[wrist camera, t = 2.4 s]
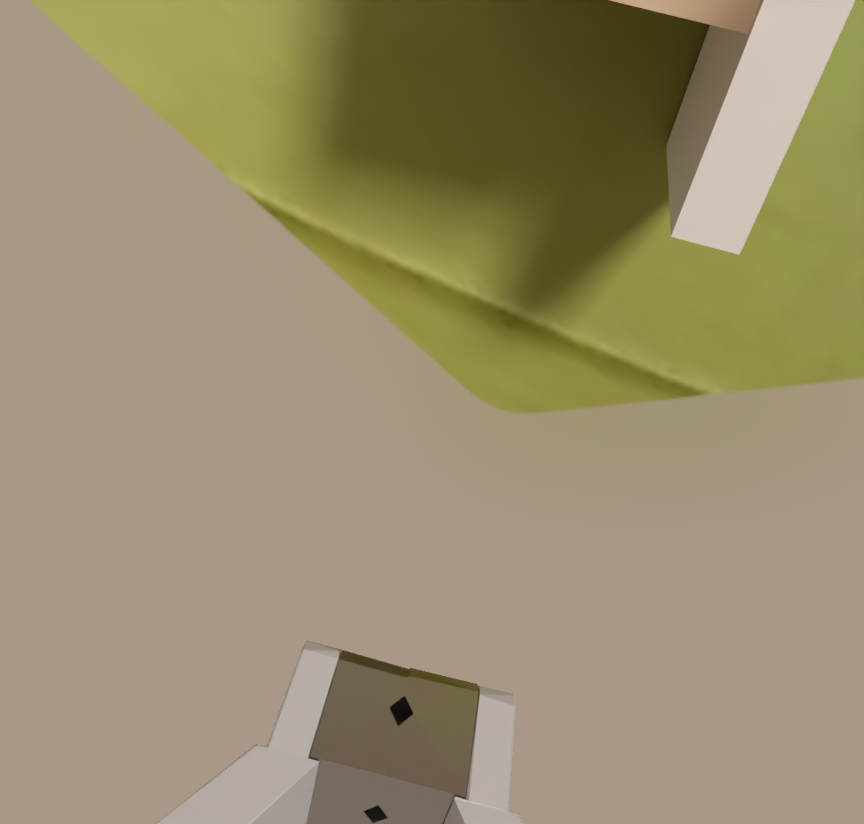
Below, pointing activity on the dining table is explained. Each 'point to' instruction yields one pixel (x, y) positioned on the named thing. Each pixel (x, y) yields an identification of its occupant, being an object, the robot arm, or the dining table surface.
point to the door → (745, 116)
